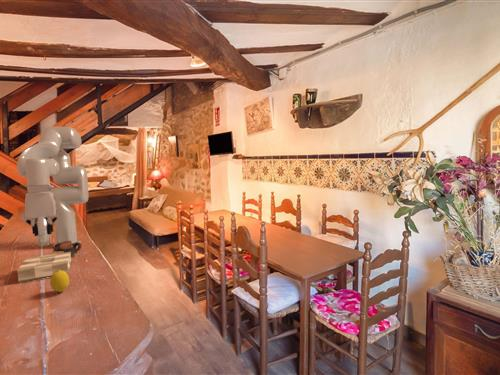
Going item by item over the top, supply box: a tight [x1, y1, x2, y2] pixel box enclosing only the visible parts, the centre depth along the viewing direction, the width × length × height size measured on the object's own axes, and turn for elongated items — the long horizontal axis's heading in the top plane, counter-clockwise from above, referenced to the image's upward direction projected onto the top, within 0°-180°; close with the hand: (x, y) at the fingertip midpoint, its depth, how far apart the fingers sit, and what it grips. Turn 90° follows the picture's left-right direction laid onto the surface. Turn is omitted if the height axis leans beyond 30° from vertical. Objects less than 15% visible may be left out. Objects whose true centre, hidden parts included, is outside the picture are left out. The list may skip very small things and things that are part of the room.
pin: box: [36, 216, 51, 247], centre depth 120 cm, size 4×4×12 cm
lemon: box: [50, 270, 70, 293], centre depth 103 cm, size 6×6×8 cm
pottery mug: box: [52, 241, 83, 257], centre depth 144 cm, size 12×10×8 cm
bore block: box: [17, 252, 72, 284], centre depth 122 cm, size 16×16×5 cm
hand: (43, 234), depth 121 cm, fingers closed on pin, 4 cm apart
